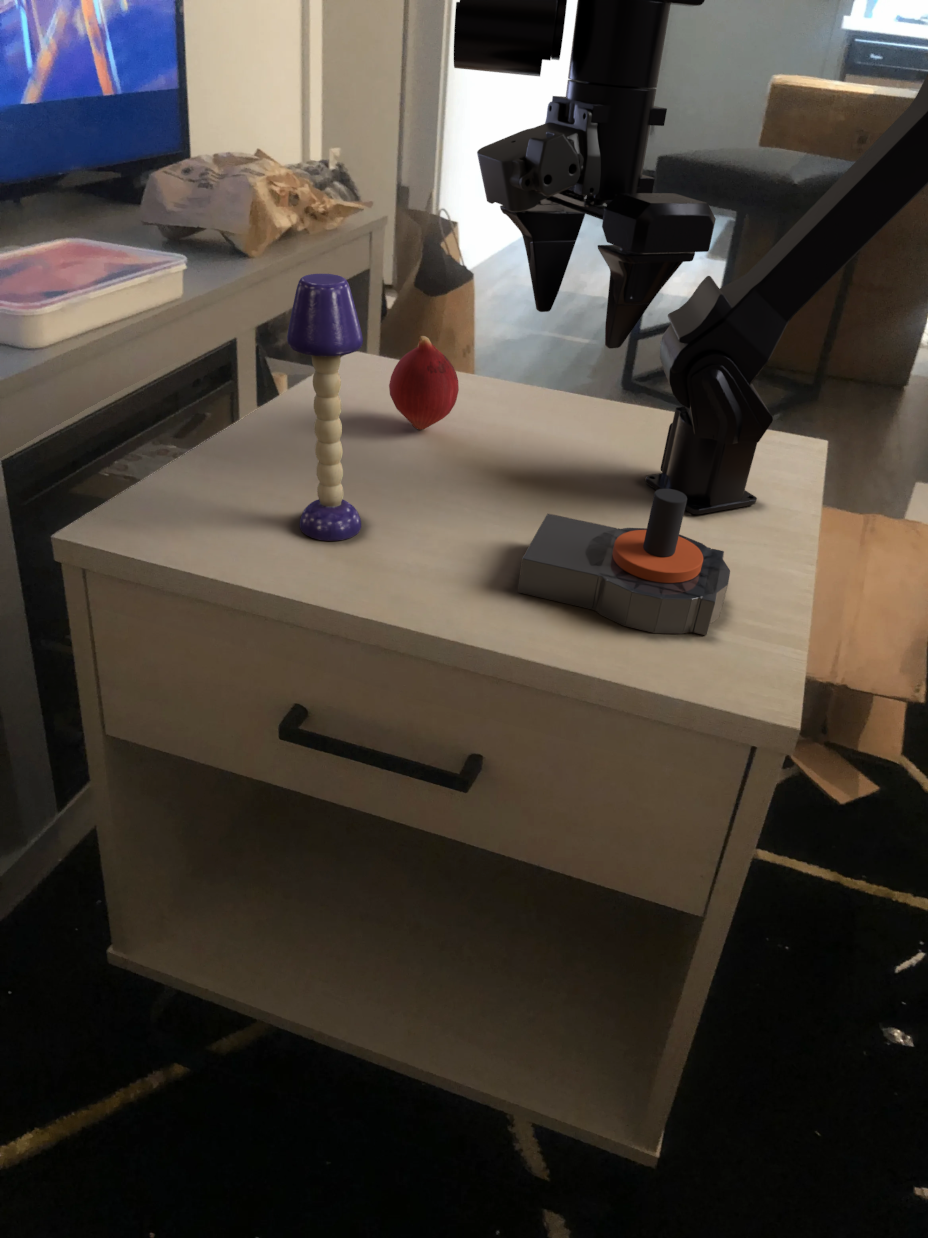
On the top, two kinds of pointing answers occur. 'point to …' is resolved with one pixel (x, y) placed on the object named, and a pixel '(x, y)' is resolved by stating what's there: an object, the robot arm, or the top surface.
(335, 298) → the toy lamp
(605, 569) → the plate
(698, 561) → the stopper
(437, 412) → the onion
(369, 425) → the top surface
